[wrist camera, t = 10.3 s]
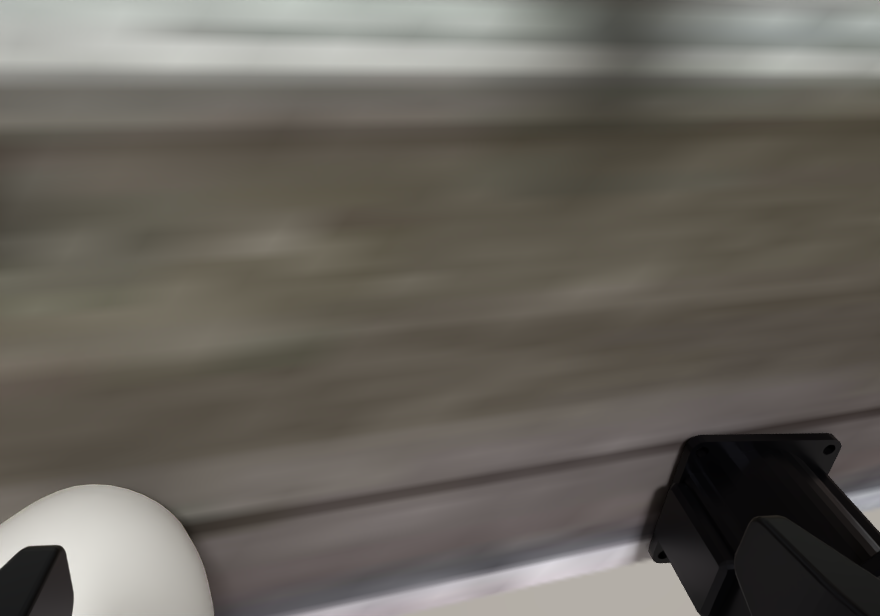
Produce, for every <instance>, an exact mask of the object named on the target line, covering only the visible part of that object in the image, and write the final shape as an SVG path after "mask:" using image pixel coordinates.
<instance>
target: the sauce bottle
mask: <svg viewBox="0 0 880 616" xmlns="http://www.w3.org/2000/svg"><path fill="white" fill-rule="evenodd" d="M39 545H60V546H62V547H63V548H64V549H65V551H66V555H67V560H68V565H69V570H70V575H71V581H72V586H73V591H74V605H73V612H72V616H214V608H213V602H212V597H211V592H210V588H209V584H208V579H207V576H206V572H205V568H204V566H203V563H202V560H201V558H200V555H199V553H198V551H197V549H196V547H195V545H194V544H193V542H192V540H191V539H190V537H189V535H188V534H187V532H186V530H185V529H184V527H183V525H182V524H181V522H180V521H179V520H178V519H177V518H176V517H175V516H174V515H173V514H172V513H171V512H170V511H169V510H167V509H166V508H165V507H163V506H162V505H161V504H159V503H158V502H156V501H154V500H152V499H150V498H149V497H147V496H145V495H143V494H140V493H137V492H135V491H132V490H129V489H126V488H121V487H117V486H112V485H100V484H88V485H79V486H73V487H70V488H66V489H62V490H59V491H56V492H54V493H52V494H50V495H47V496H45V497H43V498H41V499H39V500H37V501H36V502H34V503H32V504H30V505H29V506H27V507H25V508H24V509H22V510H21V511H19V512H18V513H16V514H15V515H14V516H12V517H11V518H9V519H8V520H6V521H5V522H3V523H2V524H0V568H2V567H3V566H4V565H5V564H6V563H7V562H8V561H9V560H10V559H11V558H12V557H13V556H14V555H15V554H16V553H17V552H19V551H20V550H21V549H23V548H25V547H27V546H39Z"/></svg>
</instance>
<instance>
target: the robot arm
mask: <svg viewBox="0 0 880 616" xmlns="http://www.w3.org/2000/svg"><path fill="white" fill-rule="evenodd" d="M700 448H701V449H700ZM698 449H699V450H698ZM840 449H841V443H840V442H839V441H838V440H837V439H836V438H835V437H834V436H833V435H832V434H829V433H812V434H740V435H698V436H695V437H693V438H691V439H690V440H689V441H688V442H687V444H686V445H685V448H684V451H683V454H682V456H681V459H680V462H679V465H678V468H677V470H676V473H675V476H674V479H673V481H672V484H671V487H670V489H669V492H668V494H667V497H666V500H665V503H664V506H663V508H662V511H661V514H660V517H659V520H658V522H657V525H656V528H655V531H654V534H653V537H652V540H651V543H650V546H649V550H648V551H649V553H650V555H651V557H652V559H653V561H655V562H656V563H671V565H672V566H673V568H674V570H675V572H676V574H677V576H678V577H679V579H680V581H681V583H682V585H683V586H684V588H685V590H686V592H687V594H688V596H689V597H690V599H691V601H692V603H693V605H694V606H695V608H696V610H697V612H698V613H699V614H700V615H701V616H880V532H879V531H878V530H877V529H876V528H875V527H874V526H873V524H872V523H871V522H870V521H869V520H868V519H867V518H866V517H865V516H864V515H863V513H862V512H861V511H860V510H859V509H858V508H857V507H856V506H855V505H854V503H853V502H852V501H851V500H850V499H849V498H848V497H847V496H846V495H845V494H844V492H843V491H842V490H841V489H840V488H839V487H838V486H837V485H836V484H835V483H834V481H833V480H832V479H831V478H830V477H829V476H828V473H829V471H830V469H831V467H832V465H833V463H834V461H835V459H836V457H837V455H838V453H839V451H840ZM73 605H74V591H73V586H72V581H71V575H70V570H69V565H68V560H67V555H66V551H65V549H64V548H63V547H62V546H60V545H39V546H27V547H25V548H23V549H21V550H20V551H19V552H17V553H16V554H15V555H14V556H13V557H12V558H11V559H10V560H9V561H8V562H7V563H6V564H5V565H4V566H3V567H2V568H0V616H72V612H73Z"/></svg>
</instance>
